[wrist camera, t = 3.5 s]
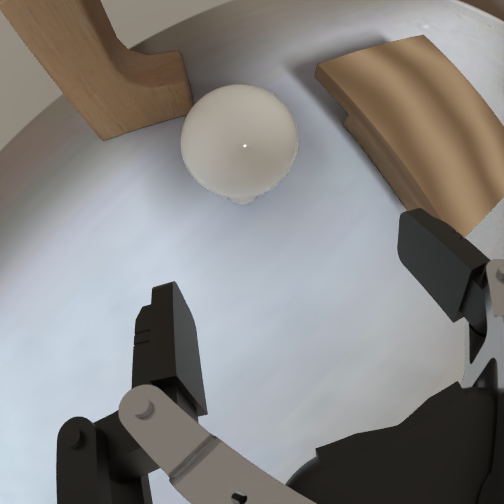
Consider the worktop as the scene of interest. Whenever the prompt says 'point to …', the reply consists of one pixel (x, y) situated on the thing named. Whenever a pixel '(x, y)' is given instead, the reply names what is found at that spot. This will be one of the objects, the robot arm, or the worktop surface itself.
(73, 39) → the wooden block
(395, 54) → the stand
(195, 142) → the lightbulb
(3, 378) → the worktop surface
